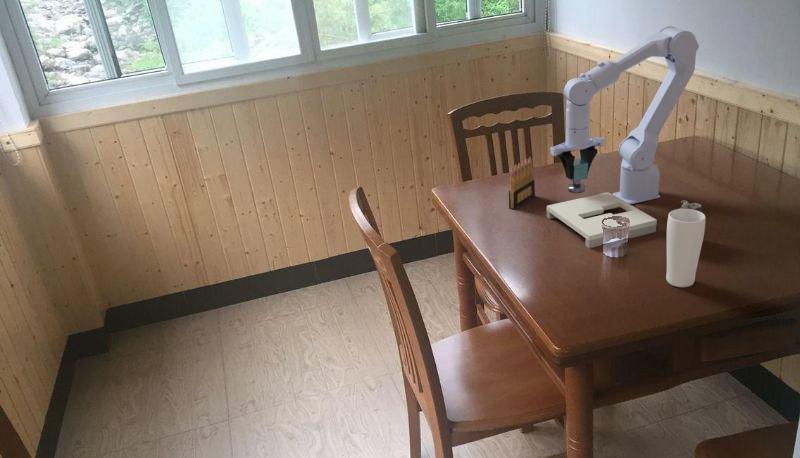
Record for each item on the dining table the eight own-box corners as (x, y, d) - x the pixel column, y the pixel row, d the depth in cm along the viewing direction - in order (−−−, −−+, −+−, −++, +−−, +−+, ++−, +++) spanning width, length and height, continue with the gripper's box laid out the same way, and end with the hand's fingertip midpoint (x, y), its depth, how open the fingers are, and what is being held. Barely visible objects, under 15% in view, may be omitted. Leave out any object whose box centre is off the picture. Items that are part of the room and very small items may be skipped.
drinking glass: (656, 276, 129) (661, 210, 123) (687, 271, 129) (694, 206, 123) (672, 292, 123) (678, 224, 117) (704, 287, 123) (713, 220, 117)
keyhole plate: (607, 203, 164) (607, 192, 163) (655, 232, 147) (656, 219, 145) (546, 217, 161) (546, 205, 159) (588, 248, 143) (589, 236, 142)
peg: (579, 186, 167) (580, 158, 164) (588, 191, 163) (589, 162, 160) (564, 189, 166) (565, 161, 163) (573, 194, 162) (574, 165, 159)
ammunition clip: (514, 209, 167) (513, 168, 162) (508, 208, 168) (507, 167, 163) (535, 196, 174) (534, 155, 169) (529, 195, 175) (528, 154, 170)
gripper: (593, 118, 162) (592, 166, 168) (544, 127, 159) (544, 176, 165) (609, 124, 156) (607, 174, 162) (558, 134, 153) (558, 185, 159)
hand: (576, 176), depth 163 cm, fingers closed on peg, 4 cm apart
